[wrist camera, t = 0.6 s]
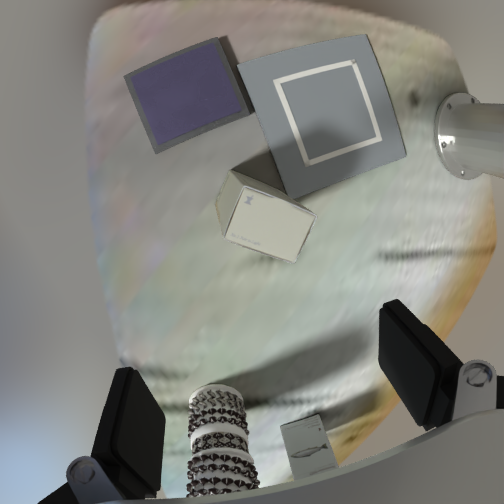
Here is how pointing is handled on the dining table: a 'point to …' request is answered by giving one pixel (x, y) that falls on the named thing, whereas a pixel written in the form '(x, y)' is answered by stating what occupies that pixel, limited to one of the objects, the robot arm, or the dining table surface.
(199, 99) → the ink pad
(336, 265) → the dining table surface
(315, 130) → the card
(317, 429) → the supplement box
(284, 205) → the skincare box
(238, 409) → the decorative candle
